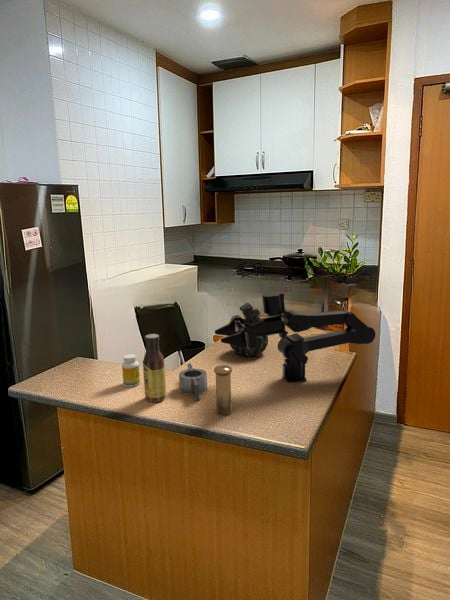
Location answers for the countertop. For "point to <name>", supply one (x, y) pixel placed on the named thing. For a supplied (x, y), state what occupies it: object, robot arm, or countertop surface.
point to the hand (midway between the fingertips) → (217, 336)
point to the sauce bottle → (154, 370)
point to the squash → (260, 348)
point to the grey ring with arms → (193, 381)
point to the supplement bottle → (130, 371)
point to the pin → (223, 389)
